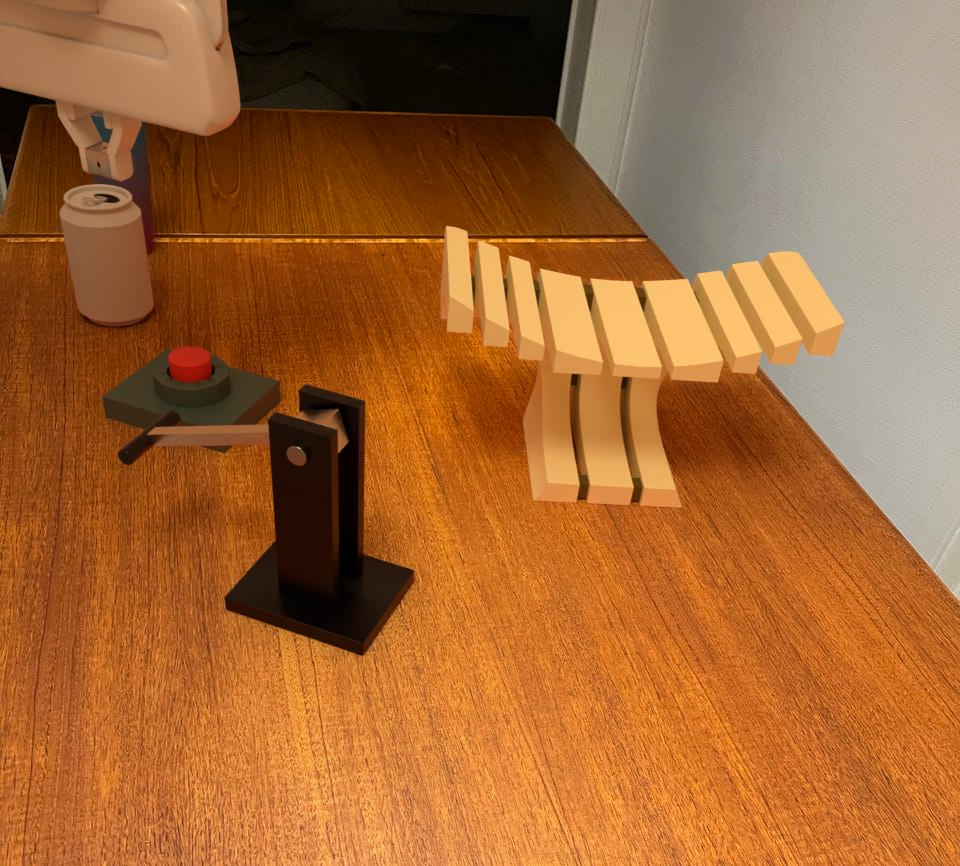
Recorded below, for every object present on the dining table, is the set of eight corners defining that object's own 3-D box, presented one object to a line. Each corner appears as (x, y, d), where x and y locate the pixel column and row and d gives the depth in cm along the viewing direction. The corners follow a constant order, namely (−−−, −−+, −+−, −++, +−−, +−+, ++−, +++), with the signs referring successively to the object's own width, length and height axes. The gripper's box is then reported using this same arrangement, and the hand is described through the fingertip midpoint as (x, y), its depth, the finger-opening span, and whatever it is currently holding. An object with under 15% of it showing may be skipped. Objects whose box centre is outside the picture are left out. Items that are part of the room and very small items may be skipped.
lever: (125, 473, 70) (110, 442, 69) (174, 432, 74) (161, 402, 73) (320, 473, 64) (309, 439, 62) (361, 428, 68) (351, 395, 66)
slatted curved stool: (735, 416, 100) (789, 237, 88) (776, 512, 88) (844, 322, 76) (433, 398, 97) (445, 211, 85) (435, 495, 86) (449, 295, 73)
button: (162, 377, 89) (159, 359, 87) (185, 360, 91) (182, 342, 90) (198, 388, 88) (195, 370, 87) (219, 370, 90) (218, 352, 89)
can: (170, 311, 105) (155, 193, 97) (117, 337, 100) (97, 215, 92) (117, 290, 107) (98, 173, 99) (62, 314, 103) (38, 194, 94)
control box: (106, 418, 90) (98, 377, 87) (169, 369, 97) (164, 330, 94) (224, 454, 87) (220, 413, 85) (280, 401, 94) (278, 362, 92)
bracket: (225, 609, 73) (203, 419, 62) (285, 541, 79) (275, 358, 69) (362, 656, 71) (365, 467, 60) (413, 581, 77) (424, 399, 66)
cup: (131, 231, 119) (110, 91, 108) (175, 247, 116) (158, 106, 106) (87, 248, 114) (61, 105, 104) (132, 265, 112) (109, 120, 102)
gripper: (251, -44, 60) (264, 194, 70) (-29, -99, 64) (19, 132, 74) (190, -27, 56) (214, 224, 65) (-106, -87, 60) (-43, 156, 70)
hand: (108, 174), depth 70 cm, fingers closed
